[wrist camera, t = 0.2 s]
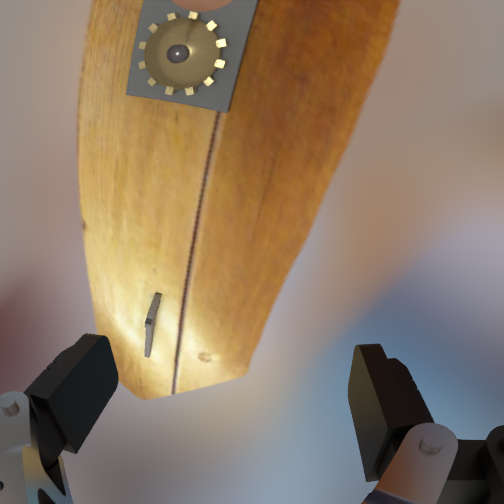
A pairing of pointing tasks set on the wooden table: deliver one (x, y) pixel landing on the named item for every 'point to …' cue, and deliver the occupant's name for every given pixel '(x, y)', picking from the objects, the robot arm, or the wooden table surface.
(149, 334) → the caliper
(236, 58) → the gear board
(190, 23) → the brass gear
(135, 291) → the wooden table surface
